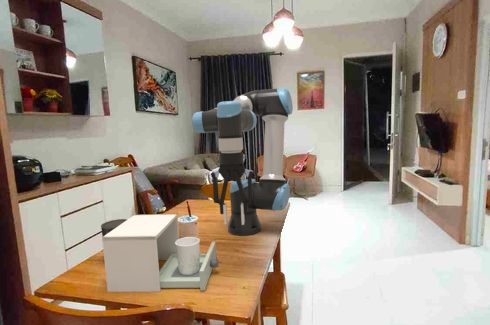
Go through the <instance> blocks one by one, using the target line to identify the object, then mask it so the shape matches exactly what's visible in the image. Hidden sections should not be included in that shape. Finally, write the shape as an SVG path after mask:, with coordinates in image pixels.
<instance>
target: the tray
mask: <svg viewBox="0 0 490 325" xmlns="http://www.w3.org/2000/svg"><path fill="white" fill-rule="evenodd" d="M216 244H217V242H216V241H212V242H211V243H210V245H209V248H208V251H207V253H200V269H199V271H198V272H197V273H194V274H191V275H183V274H180V272H179V269H178V263H177V255H176V254H171V255H170V257H169V258H168V260H166V261H165V262H164V264H163V265H162V267H161V268H160V269H159V276H160V289H163V288H164V289H165V288H166V289H168V288H170V289H171V288H173V289H174V288H179V289H181V288H183V289H184V288H187V289H188V288H191V289H192V288H197V289H198V288H200V291H206V287H207V284H208V282H209V279H210V276H211V274H212V270H213V268H219V259H217V246H216Z"/></svg>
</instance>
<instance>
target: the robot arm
mask: <svg viewBox="0 0 490 325" xmlns="http://www.w3.org/2000/svg"><path fill="white" fill-rule="evenodd" d="M293 106H294V105H293V100H292V96H291V92H290V91H289V89H287V88H285V87H282V88H279V87H276V88H268V89H256V90H251V91H249V92H246V93H244V94H241V95H237V97H235V98H234V99H233V100H230V101H229V100H228V101H220V102H217V106H216V107H214V108H212V109H209V110H206V111H203V110H201V111H197V112H194V114H193V115H192V119H191V125H192V128H193V129H194V131H195V132H196V133H198V134H199V133H201V134H207V133H217V134H218V135H217V136H218V138H217V139H218V140H217V141H218V151H219V153H218V155H219V156H218V158H219V167H218V169H217V170H215V171H212V172H211V173H210V178H212V189H213V191H212V194H213V203H214V204H218V205H219V213H220V215H223V226H227V231H228V233H230V235H231V234H232V235H234V236H235V235H236V236H251V235H255V234H258V233H259V232H261V230H262V228H261V221H260V219H259V217H258V214H257V210H263V211H264V210H265V211H266V210H267V211H273V212H276V211H283V210H285V209H286V208H287V205H288V203H289V199H290V194H291V188H290V184H288V183H287V179H286V178H284V176H283V173H284V146H285V123H286V122H287V121H288V120H289V116H290V115H292V114H293V109H294V108H293ZM259 116H260V117H261V119H262V120H263V121H264V123H265V125H264V146H263V167H262V168H263V171H262V176H261V177H260V178H259V182H257V181H256V179H254V178H253V176H254V170H252V169H246V167H245V164H244V152H243V150H244V142H243V141H244V140H243V138H244V137H243V132H249V131H252V130H253V129H254V128H255V127H256V125H257V121H258V119H257V117H259ZM244 174H245V177H246V178H247V179H242V176H243V175H244ZM219 175H221V177H222V178H223V184H222V189H221V194H220V197H219V183H218V182H219V179H218V178H219ZM229 182H231V183H230V186H229ZM228 186H229V195H230V196H229V197H230V218H229V220H228V208H227V207H228V206H227V204H228V203H227V202H225V199H226V196H227V195H226V194H227V190H228ZM227 224H228V225H227Z"/></svg>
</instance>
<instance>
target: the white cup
mask: <svg viewBox="0 0 490 325" xmlns="http://www.w3.org/2000/svg"><path fill="white" fill-rule="evenodd" d="M200 244H201V242H200V238H198V237H195V236H185V237H182V238H179V239H178V240H177V241H176V242H175V247H176V255H177V263H178V269H179V272H180V274H183V275H191V274H194V273H197V272H198V271H199V269H200V254H201V249H200V248H201V247H200V246H201V245H200Z"/></svg>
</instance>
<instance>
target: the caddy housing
mask: <svg viewBox="0 0 490 325" xmlns="http://www.w3.org/2000/svg"><path fill="white" fill-rule="evenodd" d="M127 219H128V220H126V221H125V222H123V223H122V224H121V225H119V226H118V227H116V228H115V229H114V230H112V231H111V232H109V233H108V234H106V235H105V236H104V237H101V239H102V240H101V241H102V251H103V259H104V261H103V262H104V267H105V268H104V270H105V280H106V290H107V293H113V292H114V293H129V292H130V293H136V292H137V293H141V292H142V293H146V292H147V293H149V292H150V293H151V292H152V293H153V292H161V291H162V290H161V289H162V288H160V276H159V271H160V266H159V260H163V261H164V260H166V261H167V260H168V258H169V257H170V255H171V254H176V247H175V242H176V241H177V240H178V239H180V236H179V235H180V233H179V221H178V214H177V213H164V214H163V213H157V214H156V213H155V214H133V215H132V216H130V217H129V218H127Z"/></svg>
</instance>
